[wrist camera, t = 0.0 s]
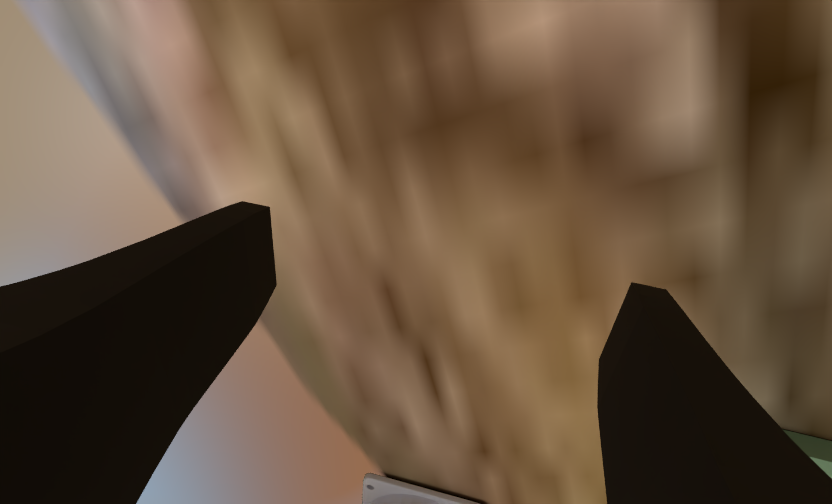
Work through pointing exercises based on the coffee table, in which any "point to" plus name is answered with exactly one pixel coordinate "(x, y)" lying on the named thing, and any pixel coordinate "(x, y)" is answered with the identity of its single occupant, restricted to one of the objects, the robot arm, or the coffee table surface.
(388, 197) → the coffee table surface
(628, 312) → the robot arm
